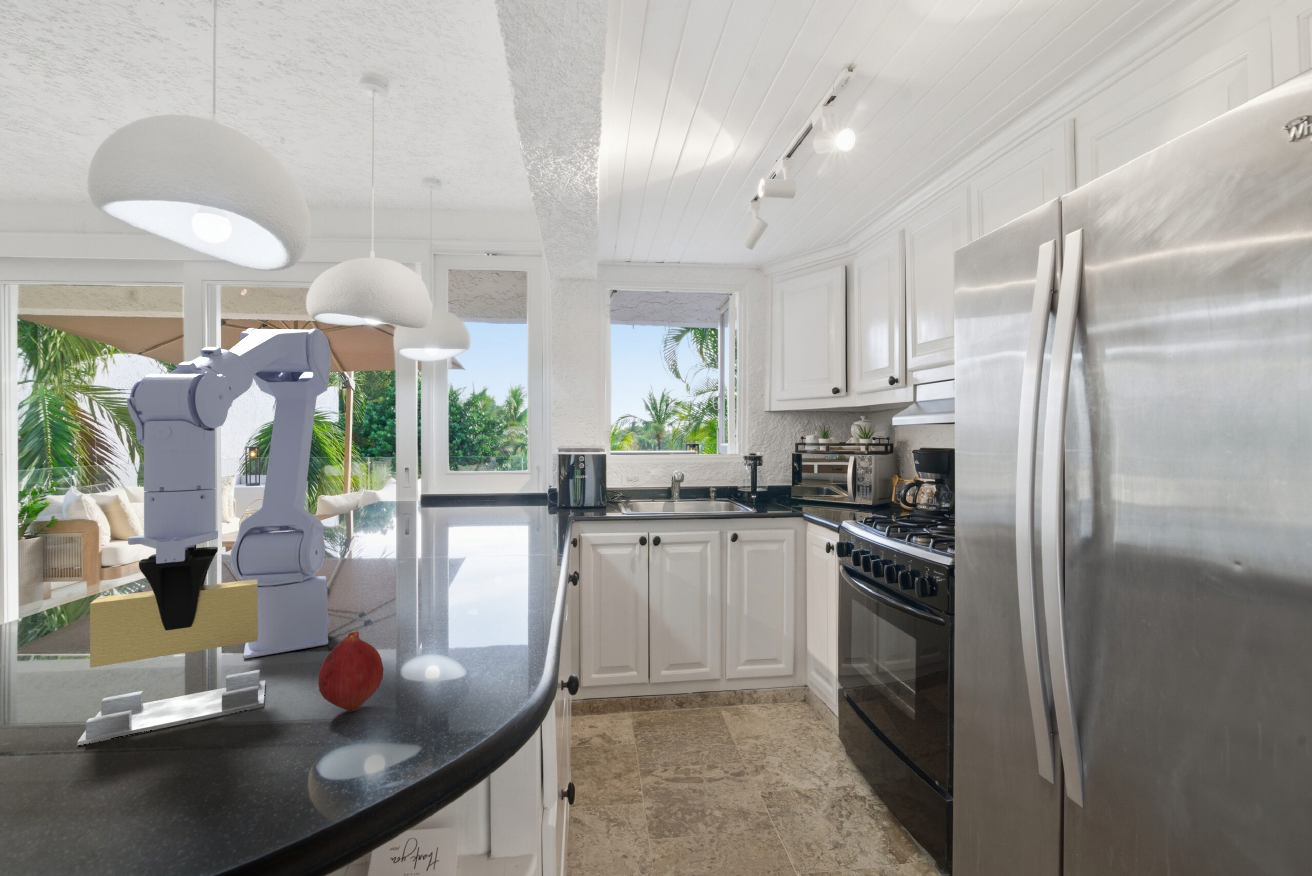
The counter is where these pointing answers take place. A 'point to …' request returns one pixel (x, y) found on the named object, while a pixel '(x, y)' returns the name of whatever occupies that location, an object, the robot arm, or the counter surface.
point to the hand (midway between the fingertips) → (181, 623)
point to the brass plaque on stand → (138, 631)
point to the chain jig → (173, 708)
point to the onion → (350, 673)
